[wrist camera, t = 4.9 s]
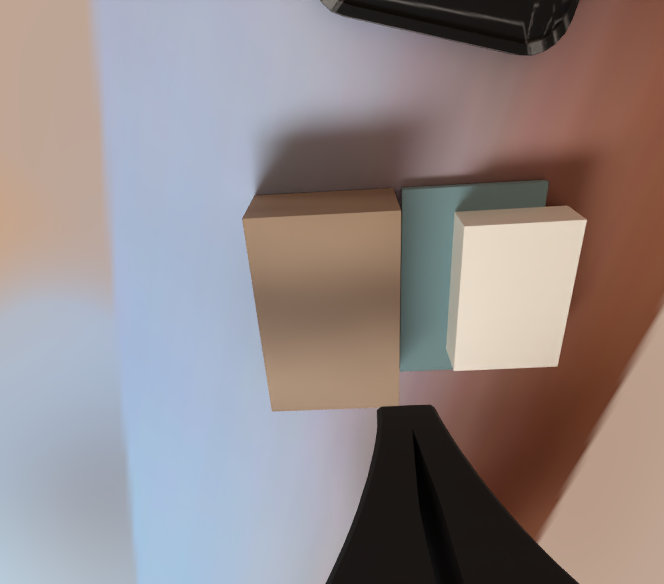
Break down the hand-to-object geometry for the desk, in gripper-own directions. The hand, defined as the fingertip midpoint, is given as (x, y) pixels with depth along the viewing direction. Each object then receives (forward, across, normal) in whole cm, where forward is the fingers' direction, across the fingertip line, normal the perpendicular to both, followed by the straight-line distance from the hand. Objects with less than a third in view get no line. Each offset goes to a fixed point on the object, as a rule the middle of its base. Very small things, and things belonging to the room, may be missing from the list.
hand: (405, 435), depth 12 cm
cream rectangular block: (+6, -5, 0) cm, 8 cm away
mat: (+8, -3, 0) cm, 9 cm away
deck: (+8, +2, 0) cm, 8 cm away
